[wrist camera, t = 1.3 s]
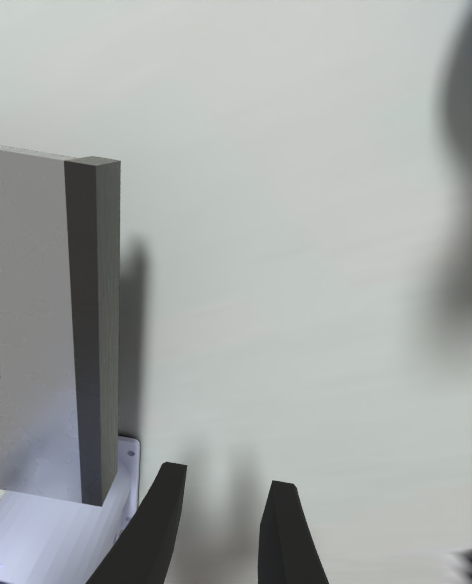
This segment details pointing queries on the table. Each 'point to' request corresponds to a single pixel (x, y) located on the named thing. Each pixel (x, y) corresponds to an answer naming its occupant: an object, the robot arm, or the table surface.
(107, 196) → the cooker lid
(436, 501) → the table surface
